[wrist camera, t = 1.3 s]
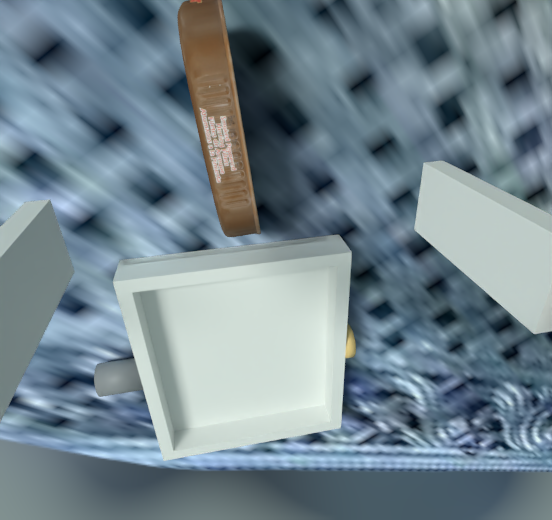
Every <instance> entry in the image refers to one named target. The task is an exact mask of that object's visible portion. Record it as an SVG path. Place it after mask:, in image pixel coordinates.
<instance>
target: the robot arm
mask: <svg viewBox="0 0 552 520" xmlns="http://www.w3.org/2000/svg"><path fill="white" fill-rule="evenodd" d="M414 230H415V231H416V232H418V233H419V234H420V235H421V236H422V237H423V238H424V239H426V240H427V241H428V242H429V243H430V244H431V245H432V246H434V247H435V248H436V249H437V250H438V251H439V252H440V253H442V254H443V255H444V256H445V257H446V258H447V259H449V260H450V261H451V262H452V263H453V264H454V265H455V266H457V267H458V268H459V269H460V270H461V271H462V272H463V273H465V274H466V275H467V276H468V277H469V278H470V279H471V280H473V281H474V282H475V283H476V284H477V285H478V286H479V287H481V288H482V289H483V290H484V291H485V292H486V293H487V294H489V295H490V296H491V297H492V298H493V299H494V300H496V301H497V302H498V303H499V304H500V305H501V306H502V307H504V308H505V309H506V310H507V311H508V312H509V313H510V314H512V315H513V316H514V317H515V318H516V319H517V320H518V321H520V322H521V323H522V324H523V325H524V326H525V327H526V328H528V329H529V330H530V331H531V332H532V333H533V334H538V333H544V332H550V331H552V215H551V214H549V213H547V212H545V211H543V210H541V209H539V208H537V207H535V206H533V205H531V204H529V203H527V202H525V201H523V200H521V199H519V198H517V197H515V196H513V195H511V194H509V193H507V192H505V191H503V190H501V189H499V188H497V187H495V186H493V185H491V184H489V183H487V182H485V181H483V180H481V179H479V178H477V177H475V176H473V175H471V174H469V173H467V172H465V171H463V170H460V169H458V168H456V167H454V166H452V165H450V164H448V163H446V162H444V161H435V162H425V163H424V165H423V172H422V179H421V186H420V194H419V201H418V208H417V215H416V222H415V229H414ZM73 274H74V269H73V266H72V263H71V260H70V257H69V254H68V251H67V248H66V245H65V242H64V239H63V236H62V233H61V230H60V227H59V224H58V222H57V219H56V216H55V213H54V210H53V207H52V204H51V201H50V200H41V201H31V202H25V203H24V204H23V205H22V206H21V207H20V208H19V209H18V210H17V211H16V212H15V213H14V214H13V215H12V216H11V217H10V218H9V219H8V220H7V221H6V222H5V223H4V224H3V225H2V226H1V227H0V422H1V420H2V418H3V416H4V413H5V411H6V409H7V407H8V405H9V403H10V401H11V399H12V397H13V395H14V393H15V391H16V389H17V387H18V385H19V383H20V381H21V379H22V377H23V375H24V373H25V371H26V369H27V367H28V365H29V363H30V361H31V359H32V357H33V355H34V353H35V351H36V349H37V347H38V345H39V343H40V341H41V338H42V336H43V334H44V332H45V330H46V328H47V326H48V324H49V322H50V320H51V318H52V316H53V314H54V312H55V310H56V308H57V306H58V304H59V302H60V300H61V298H62V296H63V294H64V292H65V290H66V288H67V286H68V284H69V282H70V280H71V278H72V276H73Z"/></svg>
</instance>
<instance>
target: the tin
mask: <svg viewBox="0 0 552 520" xmlns="http://www.w3.org/2000/svg"><path fill="white" fill-rule="evenodd" d="M178 28H179V36H180V44H181V49H182V55H183V61H184V66H185V71H186V76H187V81H188V86H189V91H190V95H191V100H192V105H193V109H194V114H195V119H196V123H197V128H198V133H199V137H200V142H201V146H202V151H203V155H204V159H205V164H206V168H207V172H208V177H209V181H210V185H211V189H212V193H213V197H214V202H215V206H216V210H217V214H218V218H219V221H220V224H221V227H222V230H223V232H224V234H225V235H226V236H227V237H236V236H243V235H248V234H255V233H257V234H261V231H260V226H259V219H258V214H257V206H256V201H255V195H254V189H253V183H252V177H251V171H250V165H249V159H248V153H247V148H246V141H245V135H244V129H243V124H242V117H241V111H240V106H239V100H238V93H237V87H236V81H235V75H234V68H233V63H232V57H231V52H230V46H229V40H228V34H227V28H226V22H225V16H224V10H223V6H222V0H189V1H185V2H183V3H182V5H181V7H180V9H179V11H178Z"/></svg>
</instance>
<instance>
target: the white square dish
mask: <svg viewBox="0 0 552 520" xmlns="http://www.w3.org/2000/svg"><path fill="white" fill-rule="evenodd" d="M351 258H352V252H351V250H350V249H349V248H348V246H347V245H346V243H345V242H344V241H343V239H342V238H341V237H340V235H339V234H338V235H329V236H321V237H312V238H304V239H296V240H287V241H279V242H270V243H262V244H253V245H245V246H236V247H228V248H219V249H211V250H202V251H194V252H185V253H177V254H168V255H160V256H151V257H143V258H134V259H126V260H120V261H119V264H118V267H117V270H116V274H115V277H114V280H113V284H114V288H115V291H116V295H117V298H118V302H119V305H120V309H121V312H122V316H123V319H124V323H125V326H126V330H127V333H128V337H129V340H130V344H131V347H132V351H133V354H134V358H132V359H126V360H119V361H112V362H106V363H99V364H97V366H96V368H95V375H94V381H95V389H96V392H97V394H98V396H100V397H101V396H108V395H114V394H120V393H126V392H132V391H139V390H144V393H145V397H146V400H147V404H148V407H149V411H150V414H151V418H152V421H153V425H154V428H155V432H156V435H157V439H158V442H159V446H160V449H161V453H162V456H163V460H164V461H166V460H171V459H176V458H182V457H187V456H192V455H198V454H203V453H209V452H214V451H219V450H225V449H230V448H235V447H241V446H246V445H251V444H257V443H262V442H267V441H273V440H278V439H283V438H289V437H294V436H299V435H305V434H310V433H316V432H321V431H326V430H332V429H337V428H341V417H342V401H343V385H344V369H345V358H351V357H354V356H355V353H356V345H355V338H354V334H353V331H352V329H351V327H350V325H349V324H347V321H348V306H349V290H350V274H351Z"/></svg>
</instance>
